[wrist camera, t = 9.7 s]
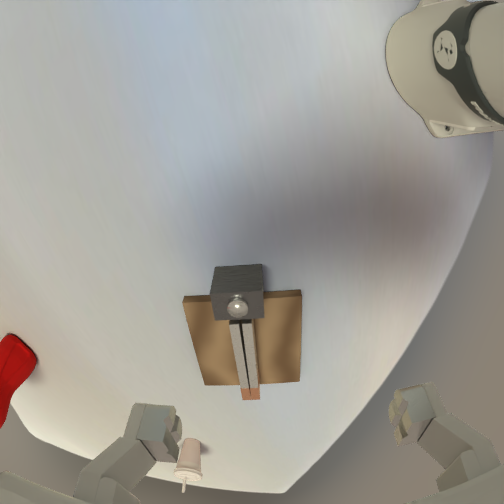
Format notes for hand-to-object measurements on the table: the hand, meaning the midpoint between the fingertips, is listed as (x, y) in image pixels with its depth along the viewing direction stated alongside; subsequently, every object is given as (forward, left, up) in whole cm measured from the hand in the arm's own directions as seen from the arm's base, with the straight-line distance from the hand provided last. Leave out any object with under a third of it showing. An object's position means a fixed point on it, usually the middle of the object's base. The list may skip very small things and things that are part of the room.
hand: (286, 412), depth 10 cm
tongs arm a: (+3, +23, -27) cm, 36 cm away
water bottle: (+54, +28, -29) cm, 67 cm away
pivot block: (+4, +13, -29) cm, 32 cm away
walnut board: (+4, +24, -29) cm, 38 cm away
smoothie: (+20, +58, -29) cm, 68 cm away
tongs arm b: (+5, +23, -27) cm, 36 cm away
